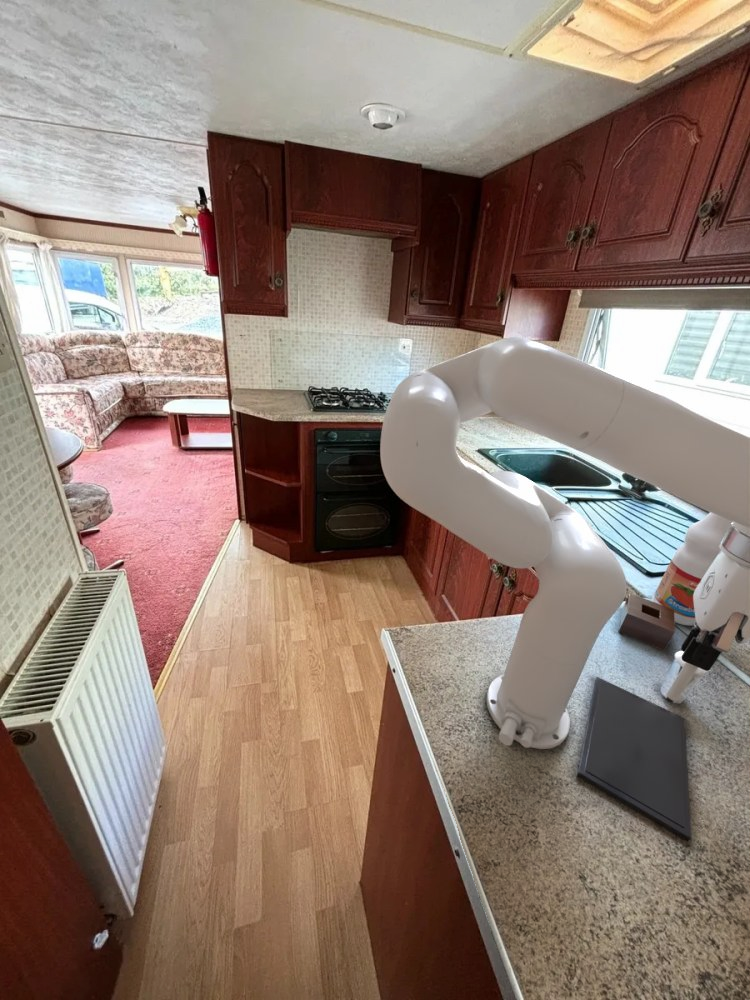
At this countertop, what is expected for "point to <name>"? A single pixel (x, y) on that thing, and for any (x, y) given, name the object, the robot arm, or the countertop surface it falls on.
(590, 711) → the tablet
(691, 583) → the fruit juice
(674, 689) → the stylus
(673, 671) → the milkshake
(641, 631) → the pen stand
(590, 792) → the countertop surface
